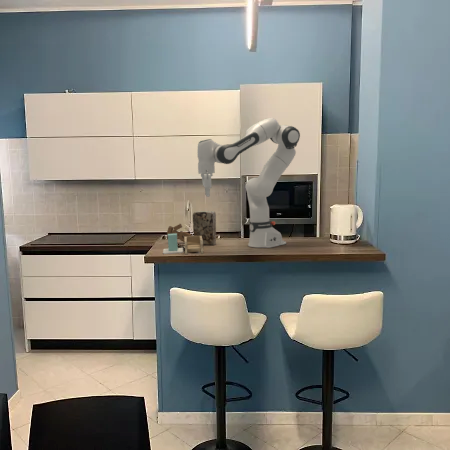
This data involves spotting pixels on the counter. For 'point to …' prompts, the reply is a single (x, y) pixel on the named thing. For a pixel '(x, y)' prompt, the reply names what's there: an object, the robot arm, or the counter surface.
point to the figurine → (179, 234)
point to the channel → (193, 244)
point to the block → (172, 242)
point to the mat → (166, 251)
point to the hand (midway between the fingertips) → (207, 195)
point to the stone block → (205, 226)
